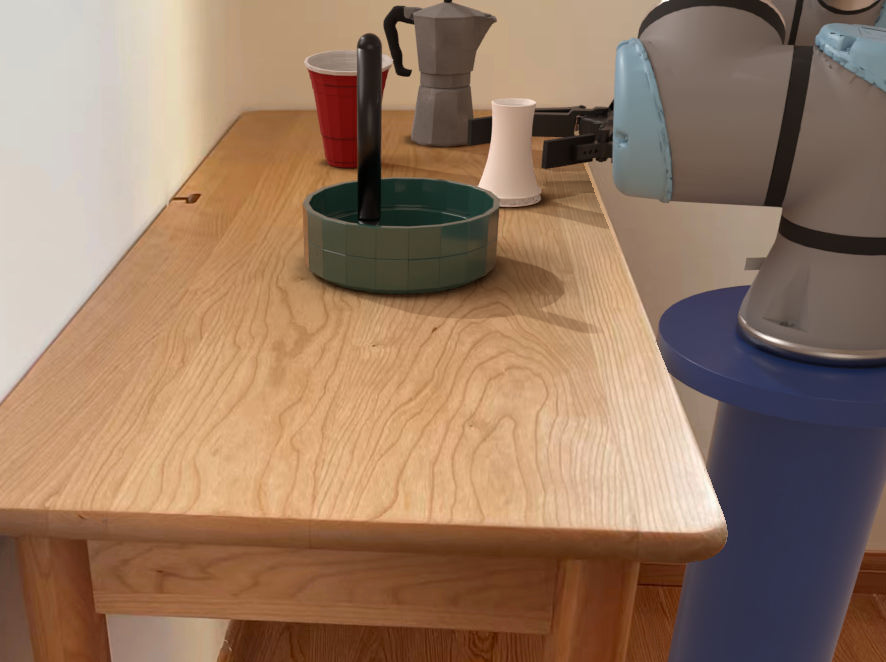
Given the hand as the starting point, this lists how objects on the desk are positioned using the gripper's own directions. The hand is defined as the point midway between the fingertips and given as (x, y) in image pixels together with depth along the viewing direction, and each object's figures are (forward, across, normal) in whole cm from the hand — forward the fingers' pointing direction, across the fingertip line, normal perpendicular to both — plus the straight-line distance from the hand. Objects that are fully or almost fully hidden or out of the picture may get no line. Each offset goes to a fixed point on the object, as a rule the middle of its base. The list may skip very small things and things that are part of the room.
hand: (505, 143), depth 125 cm
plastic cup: (+5, +25, -6) cm, 26 cm away
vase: (-1, 0, -6) cm, 6 cm away
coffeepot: (-12, +31, -6) cm, 33 cm away
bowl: (+23, -14, -6) cm, 28 cm away
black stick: (+25, -13, -5) cm, 29 cm away
